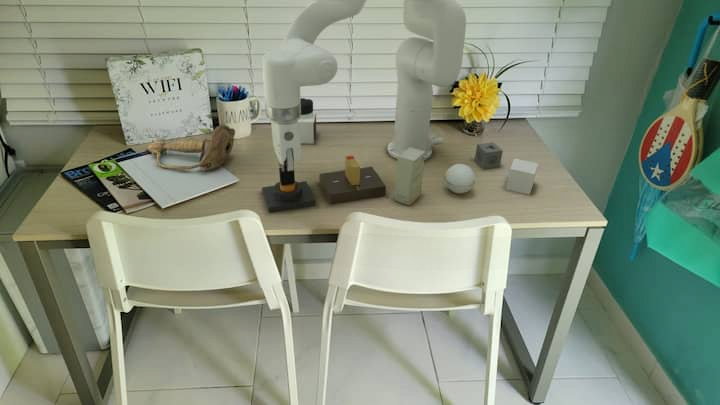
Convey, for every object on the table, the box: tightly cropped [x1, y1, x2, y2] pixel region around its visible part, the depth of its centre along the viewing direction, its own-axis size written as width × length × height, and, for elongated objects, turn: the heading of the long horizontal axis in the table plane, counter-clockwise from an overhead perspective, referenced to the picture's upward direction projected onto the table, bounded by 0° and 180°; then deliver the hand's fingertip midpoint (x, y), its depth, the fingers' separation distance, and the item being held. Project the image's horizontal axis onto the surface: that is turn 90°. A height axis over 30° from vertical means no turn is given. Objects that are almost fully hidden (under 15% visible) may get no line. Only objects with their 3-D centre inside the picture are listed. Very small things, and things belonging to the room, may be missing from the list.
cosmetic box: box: [393, 147, 425, 206], centre depth 122 cm, size 6×4×12 cm
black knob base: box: [261, 180, 316, 214], centre depth 122 cm, size 11×9×4 cm
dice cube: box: [474, 141, 503, 170], centre depth 139 cm, size 5×5×5 cm
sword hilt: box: [144, 124, 236, 172], centre depth 135 cm, size 10×24×15 cm
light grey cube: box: [505, 158, 539, 196], centre depth 130 cm, size 6×6×6 cm
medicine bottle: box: [298, 96, 317, 145], centre depth 147 cm, size 7×7×12 cm
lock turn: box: [344, 155, 361, 186], centre depth 124 cm, size 6×2×5 cm, turn 19°
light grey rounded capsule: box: [444, 163, 476, 194], centre depth 125 cm, size 10×7×7 cm
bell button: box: [280, 183, 295, 192], centre depth 121 cm, size 4×4×2 cm
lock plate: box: [318, 166, 387, 205], centre depth 126 cm, size 14×10×3 cm
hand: (287, 183), depth 120 cm, fingers closed
